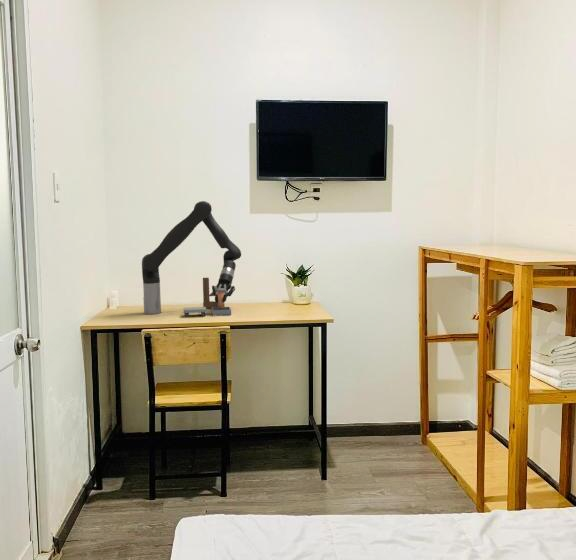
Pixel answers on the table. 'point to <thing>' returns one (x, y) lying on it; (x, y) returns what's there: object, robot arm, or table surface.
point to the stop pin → (220, 298)
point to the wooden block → (206, 299)
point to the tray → (221, 311)
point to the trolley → (194, 310)
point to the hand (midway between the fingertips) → (219, 301)
